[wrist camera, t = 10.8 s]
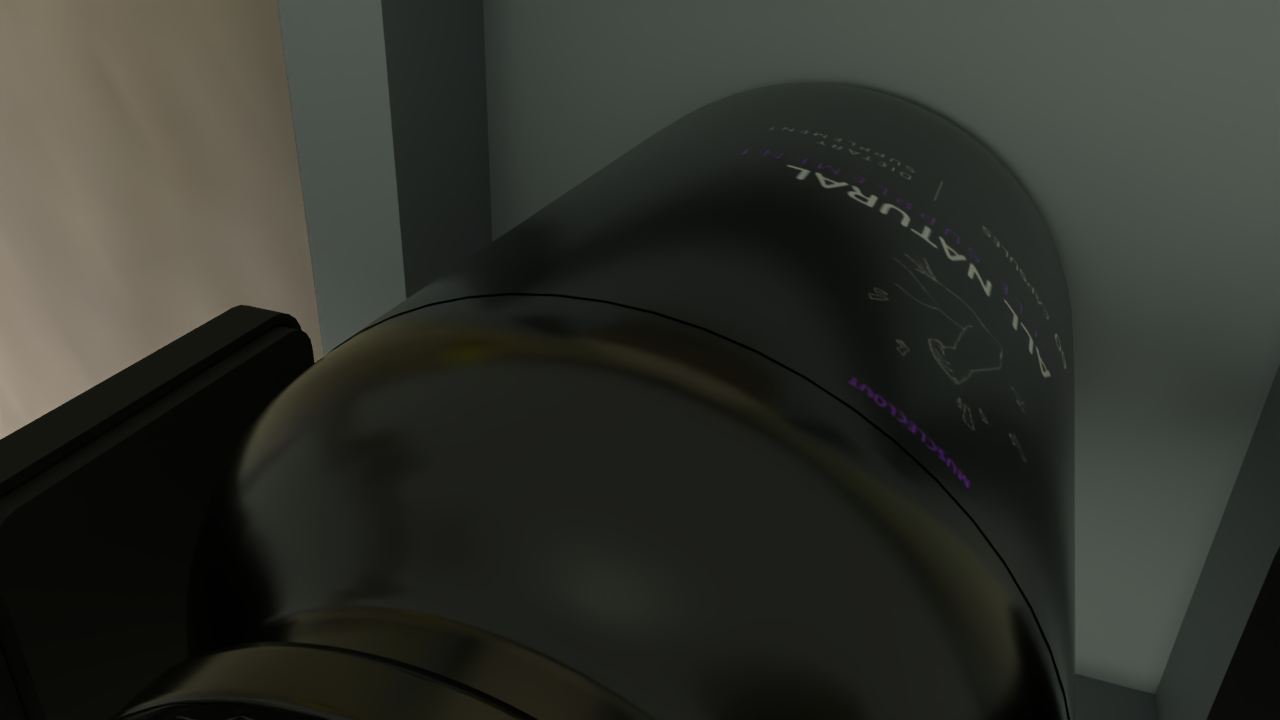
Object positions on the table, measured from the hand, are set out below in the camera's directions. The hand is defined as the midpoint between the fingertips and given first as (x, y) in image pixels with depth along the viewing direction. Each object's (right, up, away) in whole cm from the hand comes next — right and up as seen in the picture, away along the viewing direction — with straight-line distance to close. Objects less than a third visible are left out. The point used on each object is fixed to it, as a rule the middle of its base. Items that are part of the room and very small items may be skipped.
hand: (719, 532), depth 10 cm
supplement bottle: (+2, +2, +5) cm, 6 cm away
